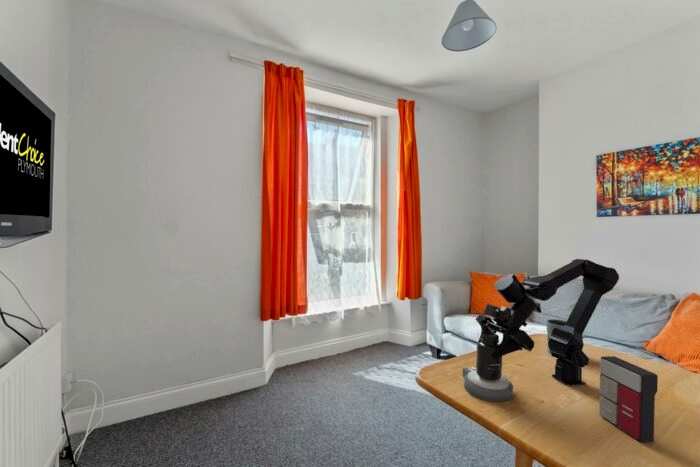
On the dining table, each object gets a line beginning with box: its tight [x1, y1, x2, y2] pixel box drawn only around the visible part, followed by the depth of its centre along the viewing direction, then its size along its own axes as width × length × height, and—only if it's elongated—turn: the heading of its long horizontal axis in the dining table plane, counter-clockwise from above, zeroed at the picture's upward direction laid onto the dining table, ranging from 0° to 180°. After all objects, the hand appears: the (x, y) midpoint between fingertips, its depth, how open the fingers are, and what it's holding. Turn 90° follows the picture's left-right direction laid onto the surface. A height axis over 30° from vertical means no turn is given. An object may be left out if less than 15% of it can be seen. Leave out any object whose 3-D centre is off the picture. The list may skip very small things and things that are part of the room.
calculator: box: [598, 355, 659, 443], centre depth 76 cm, size 11×4×15 cm, turn 5°
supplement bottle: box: [475, 332, 503, 380], centre depth 94 cm, size 7×7×12 cm
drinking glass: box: [545, 318, 567, 355], centre depth 124 cm, size 10×10×12 cm
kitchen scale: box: [462, 366, 514, 403], centre depth 95 cm, size 13×16×4 cm
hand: (485, 353), depth 93 cm, fingers closed on supplement bottle, 6 cm apart
